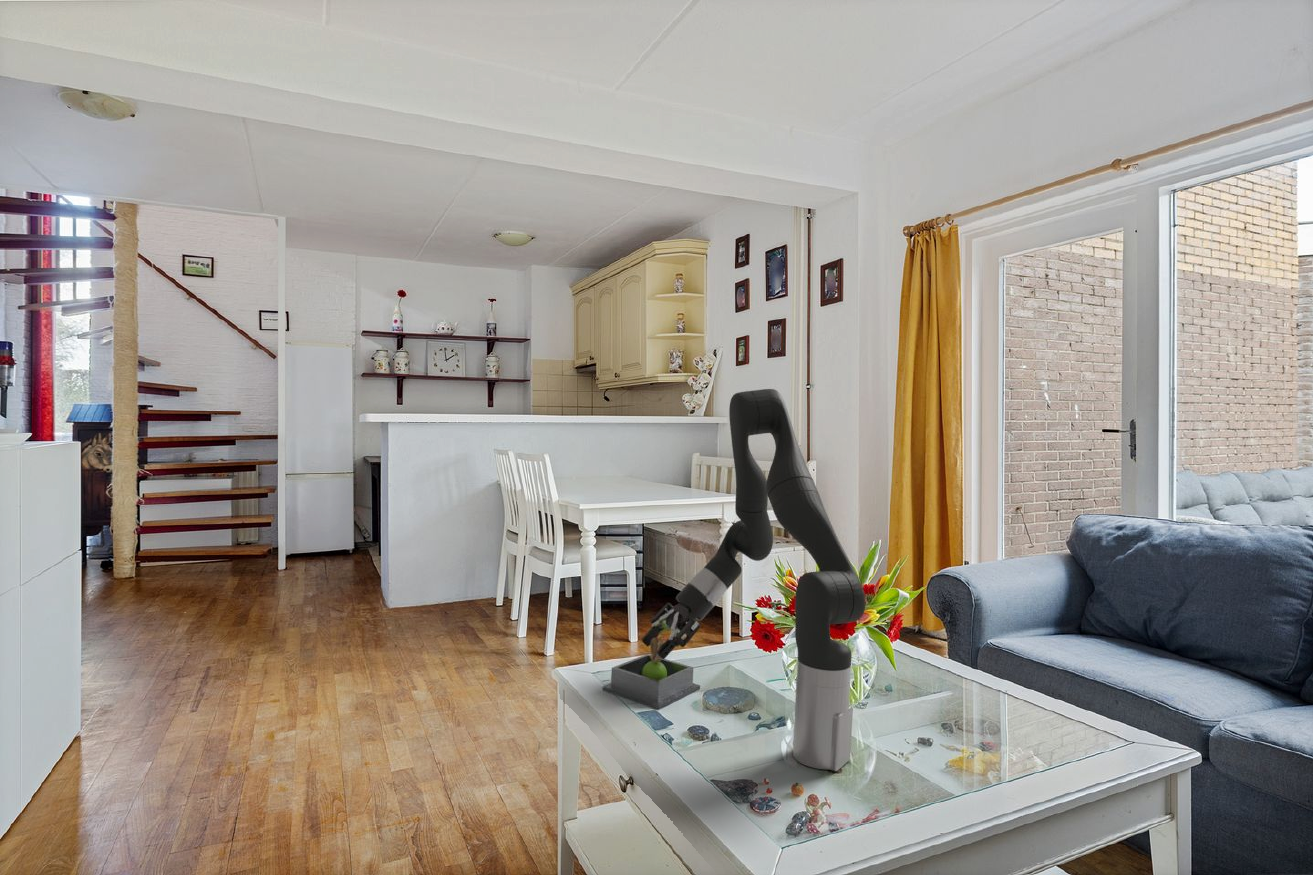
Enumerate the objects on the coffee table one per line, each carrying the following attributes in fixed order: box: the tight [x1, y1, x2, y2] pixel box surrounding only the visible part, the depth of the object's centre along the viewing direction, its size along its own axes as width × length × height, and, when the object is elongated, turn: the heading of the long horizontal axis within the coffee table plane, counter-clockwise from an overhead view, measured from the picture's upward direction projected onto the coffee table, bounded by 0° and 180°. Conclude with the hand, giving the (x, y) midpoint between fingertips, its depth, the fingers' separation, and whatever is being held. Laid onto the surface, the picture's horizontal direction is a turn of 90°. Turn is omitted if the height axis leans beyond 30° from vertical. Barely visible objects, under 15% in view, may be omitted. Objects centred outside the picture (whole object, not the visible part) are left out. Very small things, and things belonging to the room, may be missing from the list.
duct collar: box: [602, 653, 701, 710], centre depth 159 cm, size 15×15×5 cm
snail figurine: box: [642, 635, 667, 681], centre depth 158 cm, size 5×6×12 cm
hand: (651, 649), depth 159 cm, fingers open, 8 cm apart
